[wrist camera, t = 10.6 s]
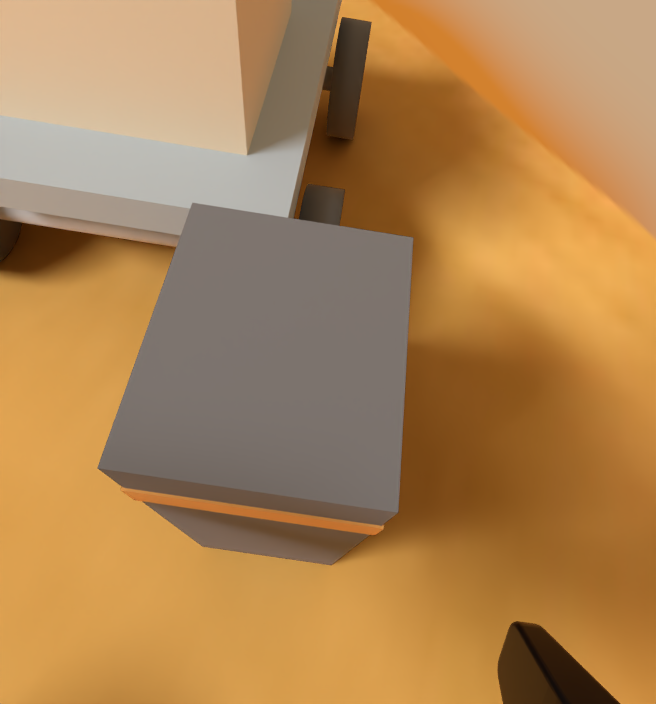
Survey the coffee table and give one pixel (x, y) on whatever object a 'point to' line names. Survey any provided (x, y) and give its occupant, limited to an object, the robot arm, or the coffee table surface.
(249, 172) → the trolley
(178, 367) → the grey box
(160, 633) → the coffee table surface
